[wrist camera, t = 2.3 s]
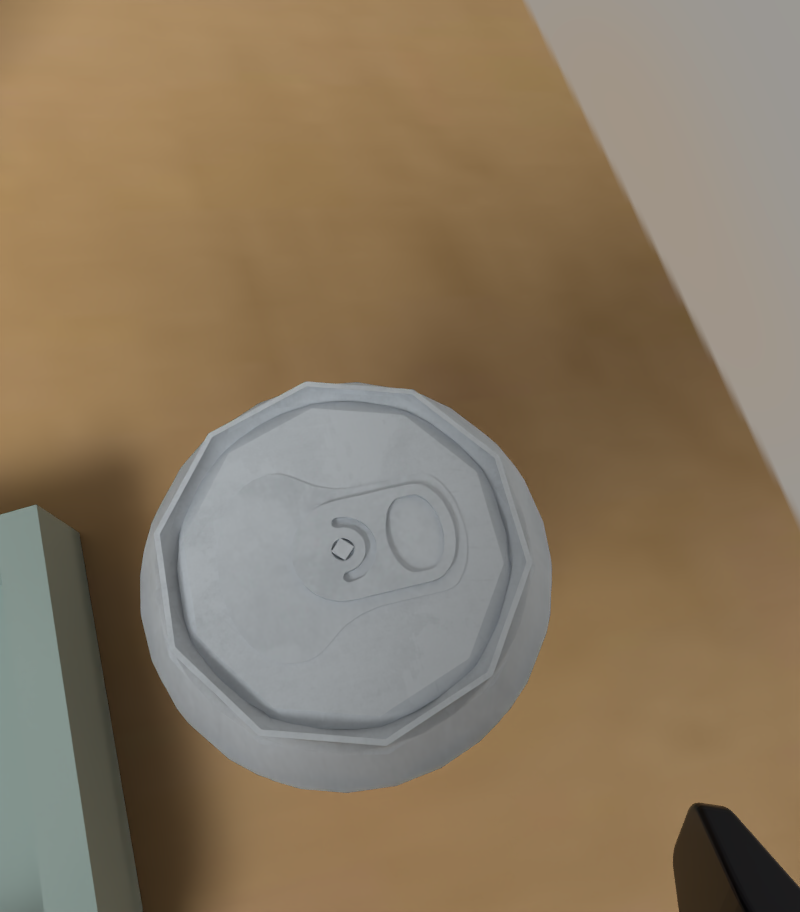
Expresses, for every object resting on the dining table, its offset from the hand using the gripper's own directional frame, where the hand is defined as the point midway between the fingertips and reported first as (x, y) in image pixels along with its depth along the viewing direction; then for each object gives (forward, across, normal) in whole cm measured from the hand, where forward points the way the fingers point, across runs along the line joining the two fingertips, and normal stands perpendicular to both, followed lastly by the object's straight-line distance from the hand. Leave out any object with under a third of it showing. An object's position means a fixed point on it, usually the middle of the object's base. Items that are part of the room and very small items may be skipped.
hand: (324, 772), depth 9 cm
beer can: (+8, 0, +5) cm, 10 cm away
